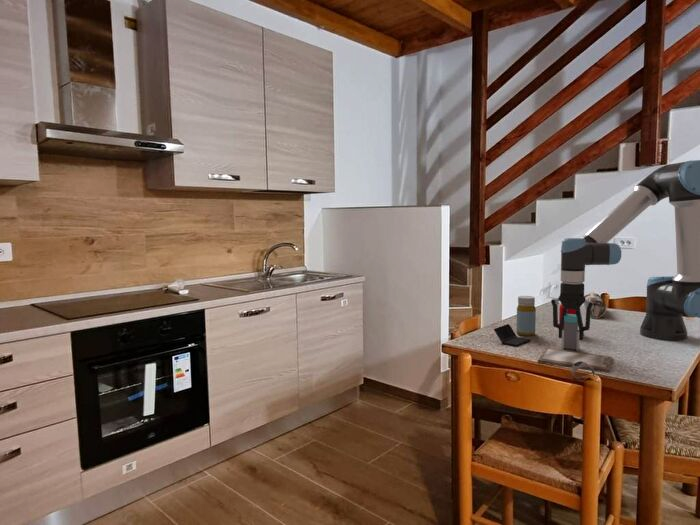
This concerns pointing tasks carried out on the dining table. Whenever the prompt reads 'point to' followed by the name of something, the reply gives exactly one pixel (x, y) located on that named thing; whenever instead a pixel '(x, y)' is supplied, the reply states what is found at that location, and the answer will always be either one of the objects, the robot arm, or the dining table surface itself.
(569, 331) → the teal and grey block
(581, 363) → the wristwatch
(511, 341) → the handheld gaming console
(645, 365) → the dining table surface
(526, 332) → the bottle
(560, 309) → the beverage can
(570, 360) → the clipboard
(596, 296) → the pencil case
